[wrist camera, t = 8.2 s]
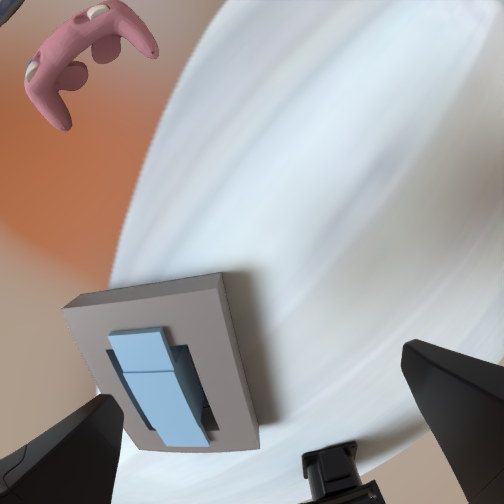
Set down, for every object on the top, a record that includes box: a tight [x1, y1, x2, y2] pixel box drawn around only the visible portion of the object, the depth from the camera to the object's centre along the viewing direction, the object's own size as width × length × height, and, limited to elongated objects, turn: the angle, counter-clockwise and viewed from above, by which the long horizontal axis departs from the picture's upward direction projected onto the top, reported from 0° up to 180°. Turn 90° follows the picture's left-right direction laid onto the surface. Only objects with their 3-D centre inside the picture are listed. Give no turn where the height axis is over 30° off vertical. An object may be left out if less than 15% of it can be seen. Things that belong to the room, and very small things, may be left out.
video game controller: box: [24, 0, 159, 131], centre depth 12 cm, size 10×5×7 cm, turn 123°
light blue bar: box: [108, 327, 210, 447], centre depth 19 cm, size 4×12×4 cm, turn 10°
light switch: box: [62, 272, 260, 453], centre depth 19 cm, size 16×12×3 cm
